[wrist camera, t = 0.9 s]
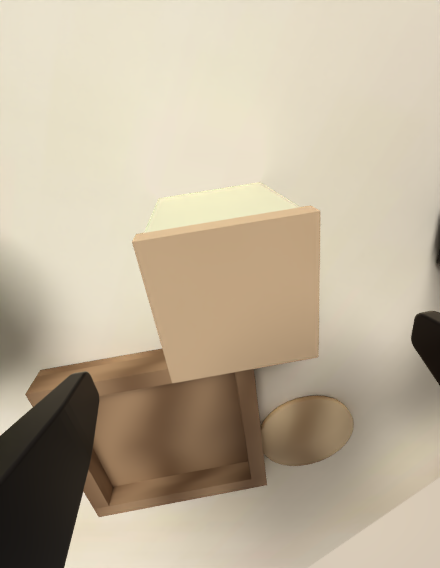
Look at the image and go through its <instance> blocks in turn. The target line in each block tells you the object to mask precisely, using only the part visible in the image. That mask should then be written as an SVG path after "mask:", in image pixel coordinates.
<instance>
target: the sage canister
mask: <svg viewBox="0 0 440 568" xmlns="http://www.w3.org/2000/svg"><path fill="white" fill-rule="evenodd" d="M132 243H133V247H134V250H135V254H136V257H137V261H138V264H139V268H140V271H141V275H142V278H143V282H144V286H145V289H146V293H147V296H148V300H149V303H150V307H151V310H152V314H153V317H154V321H155V324H156V328H157V331H158V335H159V338H160V342H161V345H162V349H163V352H164V356H165V359H166V363H167V366H168V370H169V374H170V377H171V381H172V383H177V382H183V381H189V380H194V379H200V378H205V377H211V376H216V375H222V374H228V373H233V372H239V371H244V370H250V369H256V368H261V367H267V366H272V365H278V364H283V363H289V362H295V361H300V360H306V359H311V358H317V357H318V345H319V269H320V211H319V210H318V209H316V208H314V207H312V206H305V207H299V206H298V205H296V204H294V203H293V202H291V201H290V200H288V199H286V198H285V197H283V196H282V195H280V194H278V193H277V192H275V191H274V190H272V189H270V188H269V187H267V186H266V185H264V184H262V183H261V182H257V183H251V184H245V185H238V186H232V187H226V188H220V189H214V190H207V191H201V192H195V193H189V194H183V195H176V196H170V197H164V198H159V199H158V202H157V204H156V206H155V209H154V211H153V213H152V215H151V218H150V220H149V222H148V225H147V227H146V229H145V232H144V233H140V234H136V235H135V237H134V239H133V241H132Z"/></svg>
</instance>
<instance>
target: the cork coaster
mask: <svg viewBox="0 0 440 568" xmlns="http://www.w3.org/2000/svg"><path fill="white" fill-rule="evenodd" d="M260 428H261V437H262V445H263V453H264V454H265V456H266V457H267V458H269V459H270V460H272V461H274V462H276V463H279V464H283V465H289V466H301V465H308V464H312V463H315V462H319V461H321V460H324V459H326V458H328V457H330V456H331V455H333V454H334V453H336V452H337V451H339V450H340V449H341V448H342V447H343V446H344V445H345V444H346V442H347V441H348V440H349V438H350V436H351V434H352V431H353V418H352V416H351V414H350V412H349V411H348V409H347V408H346V406H345V405H344V404H343V403H341V402H340V401H338V400H336V399H334V398H330V397H326V396H306V397H301V398H297V399H294V400H291V401H289V402H286V403H284V404H283V405H281V406H279V407H278V408H276V409H275V410H274V411H272V412H271V413H270V414H269V415H268V416H267V417H266V419H265V420H264V421H263V423H262V425H261V427H260Z"/></svg>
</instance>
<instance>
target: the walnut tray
mask: <svg viewBox="0 0 440 568" xmlns="http://www.w3.org/2000/svg"><path fill="white" fill-rule="evenodd" d="M83 371H87V372H89V373H90V375H91V377H92V379H93V382H94V384H95V386H96V388H97V390H98V393H99V408H98V415H97V422H96V429H95V436H94V444H93V450H92V456H91V461H90V466H89V470H88V474H87V478H86V482H85V486H84V490H83V491H84V493H85V495H86V496H87V498H88V500H89V501H90V503H91V505H92V506H93V508H94V510H95V511H96V513H97V515H98V516H99V517H102V516H107V515H112V514H118V513H123V512H128V511H133V510H139V509H144V508H149V507H154V506H160V505H165V504H170V503H175V502H181V501H186V500H191V499H196V498H201V497H207V496H212V495H217V494H222V493H228V492H233V491H238V490H243V489H249V488H254V487H259V486H264V485H267V480H266V472H265V463H264V454H263V445H262V437H261V428H260V419H259V410H258V402H257V393H256V384H255V376H254V369H250V370H244V371H239V372H233V373H228V374H222V375H216V376H211V377H205V378H200V379H194V380H189V381H183V382H177V383H172V381H171V377H170V374H169V370H168V366H167V363H166V359H165V356H164V352H163V349H158V350H152V351H147V352H141V353H135V354H130V355H124V356H118V357H113V358H107V359H101V360H95V361H90V362H84V363H78V364H73V365H67V366H61V367H56V368H50V369H44V370H40V371H39V373H38V375H37V376H36V378H35V380H34V381H33V383H32V384H31V386H30V388H29V389H28V391H27V392H26V394H25V395H26V396H27V398H28V400H29V401H30V403H31V405H32V406H33V407H34V406H35V405H36V404H37V403H38V402H40V401H41V400H42V399H43V398H44V397H45V396H46V395H48V394H49V393H50V392H51V391H52V390H53V389H54V388H56V387H57V386H58V385H59V384H60V383H61V382H62V381H64V380H65V379H66V378H67V377H68V376H69V375H71V374H73V373H77V372H83Z"/></svg>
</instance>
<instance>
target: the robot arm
mask: <svg viewBox="0 0 440 568" xmlns="http://www.w3.org/2000/svg"><path fill="white" fill-rule="evenodd" d="M437 263H438V265H439V266H440V250H439V255H438V260H437ZM411 341H412V344H413V346H414V348H415V349H416V351H417V352H418V354H419V355H420V357H421V358H422V360H423V361H424V363H425V364H426V366H427V367H428V369H429V370H430V372H431V373H432V375H433V376H434V378H435V379H436V381H437V382H438V384H439V385H440V313H439V312H436V311H428V312H422V313H419V314H417V315H416V316H415V319H414V325H413V330H412V335H411ZM98 408H99V393H98V390H97V388H96V386H95V384H94V382H93V379H92V377H91V375H90V373H89V372H87V371H83V372H77V373H73V374H71V375H69V376H68V377H67V378H66V379H65V380H64V381H62V382H61V383H60V384H59V385H58V386H57V387H56V388H54V389H53V390H52V391H51V392H50V393H49V394H48V395H46V396H45V397H44V398H43V399H42V400H41V401H40V402H38V403H37V404H36V405H35V406H34V407H33V408H32V409H30V410H29V411H28V412H27V413H26V414H25V415H24V416H22V417H21V418H20V419H19V420H18V421H17V422H16V423H14V424H13V425H12V426H11V427H10V428H9V429H8V430H6V431H5V432H4V433H3V434H2V435H1V436H0V568H64V566H65V562H66V558H67V554H68V550H69V546H70V542H71V538H72V534H73V530H74V526H75V522H76V518H77V514H78V510H79V506H80V502H81V498H82V494H83V490H84V486H85V482H86V478H87V474H88V470H89V466H90V461H91V456H92V450H93V444H94V436H95V429H96V422H97V415H98Z"/></svg>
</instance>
